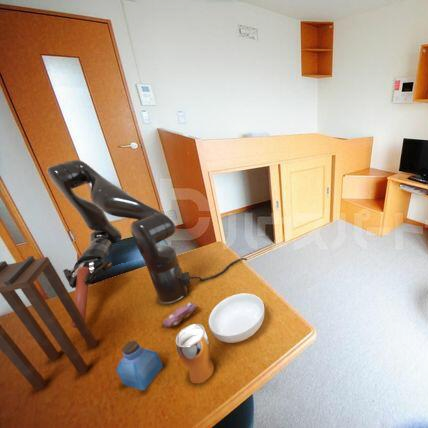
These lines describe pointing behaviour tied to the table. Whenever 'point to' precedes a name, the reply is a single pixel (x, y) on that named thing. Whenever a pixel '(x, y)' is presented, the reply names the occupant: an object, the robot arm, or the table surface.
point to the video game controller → (179, 314)
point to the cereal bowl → (237, 317)
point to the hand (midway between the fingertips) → (79, 284)
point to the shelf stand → (23, 279)
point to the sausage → (81, 292)
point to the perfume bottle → (138, 366)
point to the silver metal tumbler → (195, 352)
